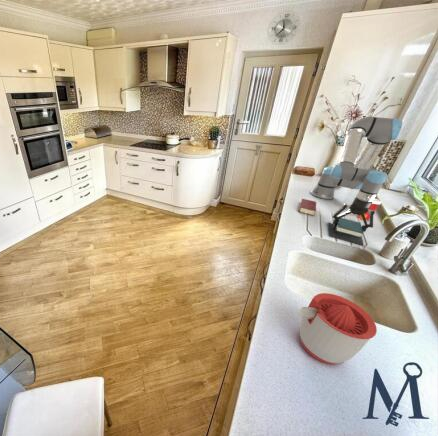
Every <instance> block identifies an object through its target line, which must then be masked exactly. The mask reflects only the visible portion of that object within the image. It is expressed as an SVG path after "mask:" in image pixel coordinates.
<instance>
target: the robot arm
mask: <svg viewBox="0 0 438 436" xmlns="http://www.w3.org/2000/svg"><path fill="white" fill-rule="evenodd" d="M402 127H403V120H402V119H399V118H394V117H393V118H391V117H390V118H389V117H380V116H379V117H378V116H366V117H361V118H359V119H358V120H356V121H354V122H353V123H352V124H350V125H349V127H348V128H347V129H346V132H345V135H344V136H345V141H344V145H343V148H342V150H341V154H340V157H339V159H338V163H337V164H334V165H333V166H327V167H324V169H323V171H322V172H321V174H320V177H319V179H318V182H317V184H316V185H315V186H314V188H312V189H311V192H310V194H311V195H312V196H313V197H316V198H319V199H323V200H332V199H333V198H334V197H335V189H336V188H338V187H342V188H347V189H350V190H358V192H357V193H356V197H354V199H353V201H352V202H351V204H347V203H343V205H342V206H341V207H340V208H338V210H337V211H335V212H334V213H333V214H332V215H331V216H332V217H331V218H332V219H333V221H332V224H334V225H333V227H332V229H333V230H334V229H335V227H336V225H337V223H338V222H339V219H340V218H344V217H346V216H348V215H351V214H352V215H357V216H359V215H361V216H362V218H363V220H362V221H363V225H362V224H361V226H362V230H363V233H365V232H366V231H367V229H369V228H373V227H374V215H375V213H376V210H375V211H374V210H369V207H370V205H371V204H372V201H373V200H374V199H376V197H377V195H378V193H379V192H380V191H381V188H382V187H383V186H384V183H386V181H387V178H388V174H387V173H386V172H385V171H381V170H376V169H374V168H370V167H371V166H372V164H373V163H374V161H375V160H376V158H377V156H378V155H379V153H380V152H381V151H382V149H383V147H384V146H386V145H388V144H390V143H391V141H396V140H397V138H398V137H399V135H400V132H401V130H402ZM364 138H365V139H366V141H367V142H366V143H365V145H364V147H363V148H362V149H361V152H360V153H359V151H360V147H361V144H362V141H363V139H364ZM358 154H359V155H358ZM348 208H349V209H348ZM346 209H347V210H346ZM345 210H346V211H345ZM366 212H369V214H370V219H369V223H368V220H367V221H366V218H365V215H364V213H366Z"/></svg>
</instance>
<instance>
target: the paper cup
mask: <svg viewBox="0 0 438 436" xmlns="http://www.w3.org/2000/svg"><path fill="white" fill-rule="evenodd" d="M381 204H382V201H381V200H380V199H378V198H375V199H374V200H373V201H372V204H371V205H370V207H369V210H374V211H375V212H376V210H377V209H378V208H379V206H380V205H381ZM364 215H365V218H366V221H367V222H368V221H370V214H369V212H366V213H364ZM357 218H358V219H359V220H362V221H363V218H362V216H361V215H357Z"/></svg>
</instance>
